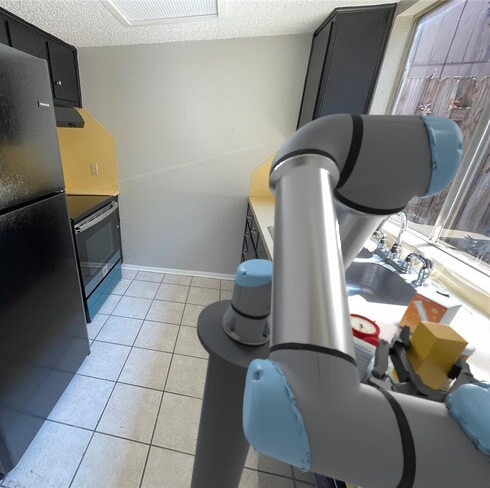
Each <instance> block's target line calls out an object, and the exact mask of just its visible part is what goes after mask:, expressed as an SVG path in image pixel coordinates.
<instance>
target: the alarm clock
mask: <svg viewBox="0 0 490 488" xmlns="http://www.w3.org/2000/svg"><path fill="white" fill-rule="evenodd" d="M350 318H351V326H352V333H353V336H354V337H356V338H358V339H361V340H363V341H365V342H367V343H369V344H371V345H373V346H375V347H376V348H377V346H378V344H379V342H380V339H379V336H380V334H381V328H380V326H379V325H378V324H377V323H376V322H377V321H376V320H372V319H371V318H368V317H366V316H363V315H361V314H357V313H350Z"/></svg>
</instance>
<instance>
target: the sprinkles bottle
mask: <svg viewBox="0 0 490 488" xmlns="http://www.w3.org/2000/svg"><path fill="white" fill-rule="evenodd" d="M464 339H465V340H466V341H467V342H468V345H467V346H466V348H465V349H464V351H463V352H462V354H461V355H460V358H461V360H462V361H464V362H467V360H468V358H469V357H471V356H472V355H473V354H474V353H475V352H476V349H477V347H476V346H475V344H474V343H472V342H471V341H469V340H468V339H466V338H464ZM453 381H454V380H452V379H449V378H447V376H446V377H445V379H444V380H443V382H442V383H441V385H440V386H439V388H438V389H437V390H438V391H447V390H449V387H450V385H452V383H453Z"/></svg>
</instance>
